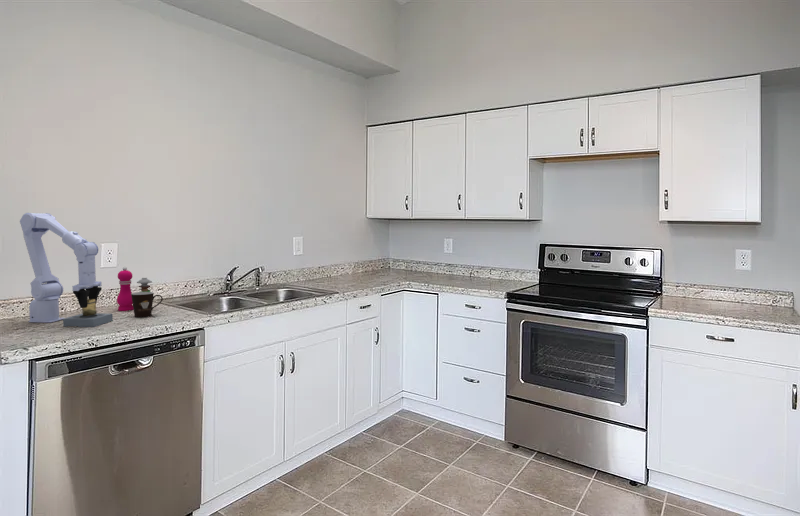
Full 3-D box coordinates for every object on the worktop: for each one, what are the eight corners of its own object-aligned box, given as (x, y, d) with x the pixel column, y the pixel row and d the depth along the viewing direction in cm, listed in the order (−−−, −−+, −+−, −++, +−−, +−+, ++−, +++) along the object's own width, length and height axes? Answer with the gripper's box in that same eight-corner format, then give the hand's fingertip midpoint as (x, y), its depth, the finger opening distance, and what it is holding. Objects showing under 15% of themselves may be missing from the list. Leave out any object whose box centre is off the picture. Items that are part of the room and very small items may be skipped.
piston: (79, 316, 192) (77, 301, 191) (87, 313, 197) (86, 298, 196) (91, 315, 192) (90, 300, 191) (99, 312, 197) (98, 298, 196)
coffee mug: (129, 318, 206) (128, 294, 205) (134, 314, 214) (134, 292, 213) (159, 317, 209) (158, 294, 208) (163, 313, 217) (163, 291, 216)
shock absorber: (147, 308, 229) (146, 276, 228) (155, 309, 226) (155, 277, 225) (134, 310, 223) (133, 278, 222) (143, 311, 220) (142, 279, 219)
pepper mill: (130, 307, 230) (129, 265, 228) (137, 309, 225) (136, 266, 224) (114, 309, 224) (113, 266, 223) (120, 311, 220) (119, 267, 218)
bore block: (63, 326, 188) (63, 318, 188) (84, 320, 200) (83, 313, 200) (93, 327, 188) (93, 319, 188) (112, 320, 200) (112, 313, 200)
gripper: (84, 274, 185) (85, 309, 186) (108, 271, 200) (109, 303, 201) (66, 274, 186) (67, 309, 187) (91, 270, 200) (92, 303, 201)
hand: (88, 306), depth 194 cm, fingers closed on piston, 5 cm apart
